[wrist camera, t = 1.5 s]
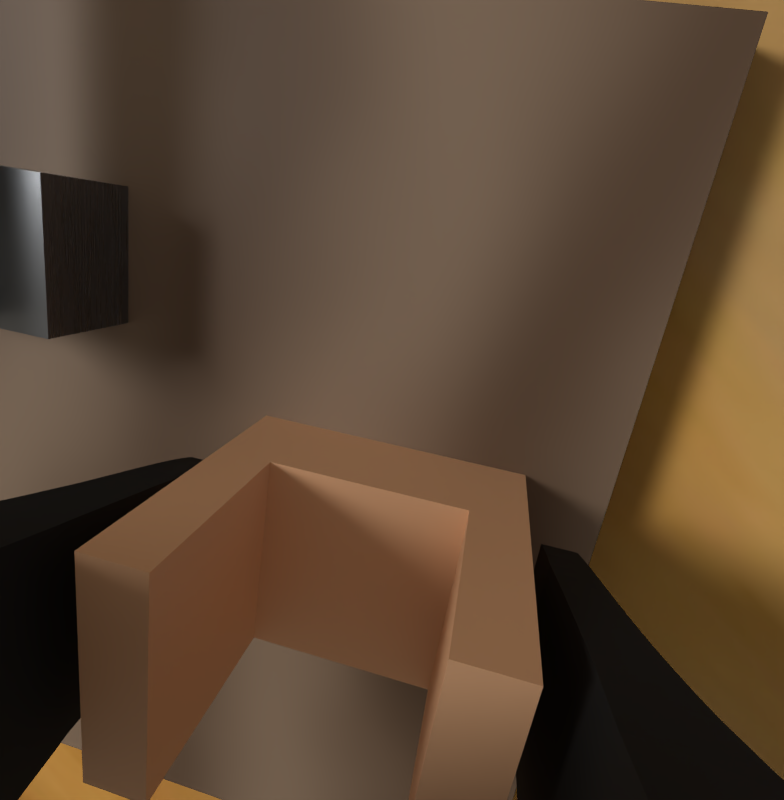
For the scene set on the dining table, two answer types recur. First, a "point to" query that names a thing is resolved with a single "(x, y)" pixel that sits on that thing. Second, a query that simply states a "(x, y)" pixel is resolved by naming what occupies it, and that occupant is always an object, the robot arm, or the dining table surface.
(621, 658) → the robot arm
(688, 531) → the dining table surface
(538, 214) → the board
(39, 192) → the supports
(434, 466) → the bracket
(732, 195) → the dining table surface
